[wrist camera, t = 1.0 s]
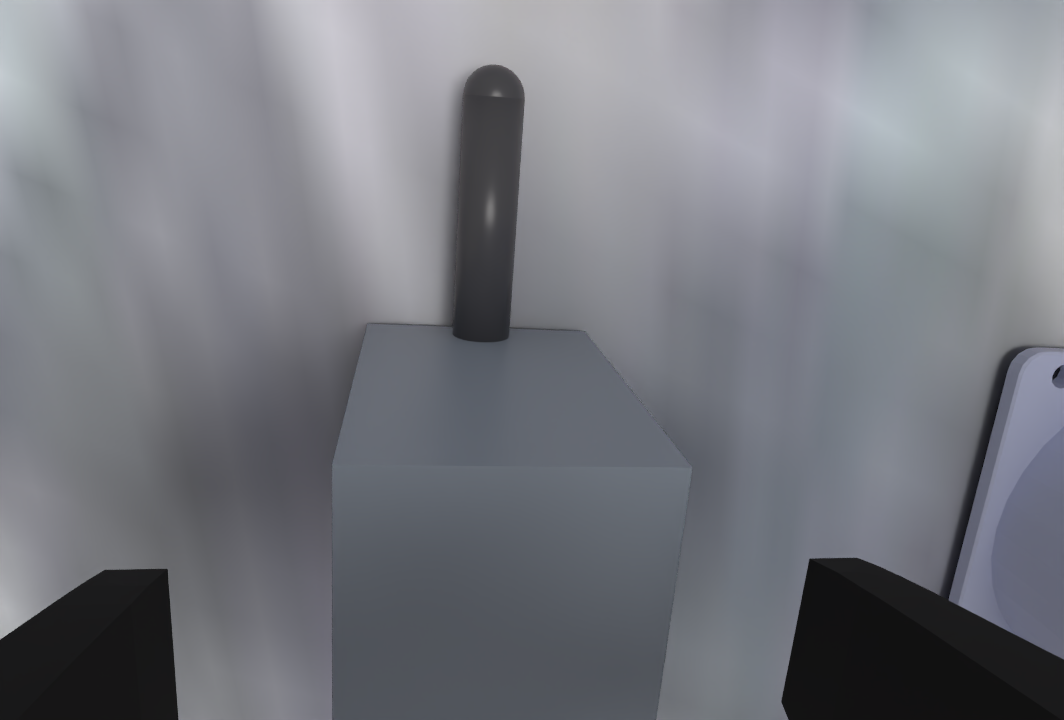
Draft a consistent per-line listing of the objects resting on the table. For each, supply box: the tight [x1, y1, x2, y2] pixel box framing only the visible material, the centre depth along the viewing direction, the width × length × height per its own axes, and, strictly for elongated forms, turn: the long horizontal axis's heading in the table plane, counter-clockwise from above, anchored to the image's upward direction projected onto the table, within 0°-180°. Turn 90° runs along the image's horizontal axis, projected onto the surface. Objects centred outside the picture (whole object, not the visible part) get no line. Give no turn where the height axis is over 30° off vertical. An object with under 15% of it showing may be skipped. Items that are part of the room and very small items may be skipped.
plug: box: [332, 65, 692, 720], centre depth 11 cm, size 4×8×6 cm, turn 177°
